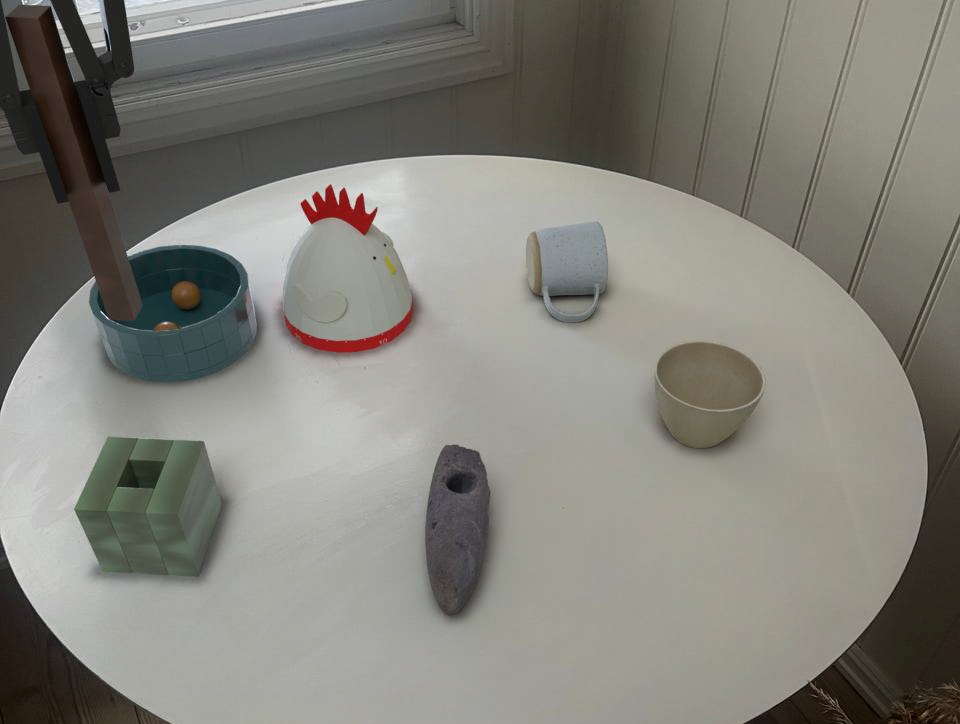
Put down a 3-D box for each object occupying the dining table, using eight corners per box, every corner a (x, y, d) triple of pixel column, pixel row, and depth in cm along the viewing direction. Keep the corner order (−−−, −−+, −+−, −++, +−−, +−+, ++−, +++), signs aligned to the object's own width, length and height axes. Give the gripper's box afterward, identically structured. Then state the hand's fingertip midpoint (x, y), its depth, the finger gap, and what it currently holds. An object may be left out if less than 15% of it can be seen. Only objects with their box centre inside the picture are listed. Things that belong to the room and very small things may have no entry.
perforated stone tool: (479, 634, 73) (480, 581, 68) (412, 629, 73) (409, 575, 68) (493, 494, 83) (495, 439, 78) (435, 489, 83) (434, 434, 78)
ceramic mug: (521, 271, 107) (525, 212, 101) (590, 266, 107) (598, 208, 102) (538, 329, 100) (543, 269, 94) (612, 323, 100) (621, 264, 95)
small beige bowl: (753, 408, 91) (771, 351, 86) (741, 478, 85) (760, 421, 80) (653, 386, 93) (665, 330, 88) (634, 453, 87) (645, 396, 81)
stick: (108, 319, 70) (4, 17, 54) (117, 304, 72) (18, 4, 56) (134, 321, 70) (38, 18, 54) (143, 305, 72) (51, 5, 55)
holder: (103, 572, 76) (73, 509, 70) (133, 500, 82) (107, 436, 76) (199, 577, 76) (177, 514, 70) (222, 505, 82) (204, 440, 76)
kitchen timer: (379, 366, 95) (369, 238, 84) (261, 335, 98) (236, 208, 87) (431, 291, 104) (428, 167, 93) (321, 265, 107) (305, 142, 96)
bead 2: (171, 314, 98) (165, 291, 96) (179, 298, 100) (173, 274, 98) (199, 316, 98) (193, 292, 96) (206, 299, 100) (201, 276, 98)
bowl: (84, 379, 93) (65, 331, 88) (132, 288, 103) (118, 241, 99) (238, 386, 92) (227, 339, 88) (270, 294, 103) (262, 247, 98)
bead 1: (152, 356, 94) (145, 333, 91) (160, 338, 96) (153, 314, 93) (181, 358, 94) (175, 334, 91) (189, 339, 96) (183, 316, 93)
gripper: (-236, -215, 41) (-32, 242, 59) (122, -239, 46) (213, 189, 63) (-232, -246, 46) (-43, 186, 63) (94, -265, 51) (186, 141, 68)
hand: (85, 187), depth 63 cm, fingers closed on stick, 3 cm apart
